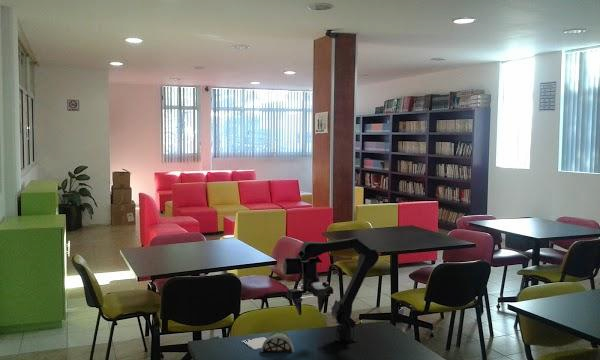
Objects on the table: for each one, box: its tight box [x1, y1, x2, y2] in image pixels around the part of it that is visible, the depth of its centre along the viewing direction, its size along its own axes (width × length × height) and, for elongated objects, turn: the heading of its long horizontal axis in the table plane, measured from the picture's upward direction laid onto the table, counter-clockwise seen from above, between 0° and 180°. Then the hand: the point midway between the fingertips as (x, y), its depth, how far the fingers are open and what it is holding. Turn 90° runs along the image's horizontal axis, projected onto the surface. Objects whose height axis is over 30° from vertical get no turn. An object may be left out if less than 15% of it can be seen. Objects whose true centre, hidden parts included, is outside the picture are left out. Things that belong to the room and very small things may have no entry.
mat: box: [241, 336, 268, 351], centre depth 213 cm, size 10×12×1 cm
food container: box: [261, 330, 295, 353], centre depth 206 cm, size 12×6×10 cm
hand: (310, 313), depth 212 cm, fingers open, 9 cm apart
